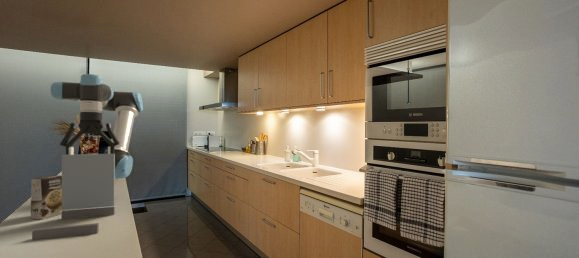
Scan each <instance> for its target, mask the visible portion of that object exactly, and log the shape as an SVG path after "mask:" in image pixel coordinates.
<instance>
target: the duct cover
mask: <svg viewBox="0 0 579 258" xmlns="http://www.w3.org/2000/svg"><path fill="white" fill-rule="evenodd" d="M61 176H62V210H65V211H66V210H78V209H91V208H104V207H115V205H116V204H115V203H116V201H115V200H116V197H115V196H116V195H115V194H116V192H115V191H116V190H115V189H116V188H115V187H116V182H115V181H116V179H115V154H104V153H97V154H95V153H88V154H87V153H84V154H83V153H82V154H74V155H66V154H61Z"/></svg>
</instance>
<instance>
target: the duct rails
mask: <svg viewBox="0 0 579 258" xmlns="http://www.w3.org/2000/svg"><path fill="white" fill-rule="evenodd" d="M115 213H116V207H115V206H109V207H96V208H83V209H70V210H65V211H62V214H61V220H70V219H80V218H82V219H83V218H90V217H100V216H101V217H103V216H104V217H105V216H114V215H115ZM99 225H100V223H99V222H96V223H85V224H83V223H82V224H76V225H66V226H65V225H63V226H54V227H43V228H34V229H32V230H31V240H32V241H34V240H35V241H36V240H43V239H44V240H45V239H52V238H54V239H55V238H63V237H64V238H65V237H73V236H74V237H75V236H82V235H92V234H98V233H99V231H100V229H99V227H100V226H99Z"/></svg>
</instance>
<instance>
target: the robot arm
mask: <svg viewBox="0 0 579 258" xmlns="http://www.w3.org/2000/svg"><path fill="white" fill-rule="evenodd" d="M50 95H51V97H53V99H56V100H62V101H63V100H68V101H74V102H78V103H80V104H79V107H80V108H79V110H80V111H81V112H80V113H79V123H75V122H71V123H70V125H69V129H68V130H67V132H66V134H65V135H64V137H63V139H62V140H61V141H60V143H59V145H60V146H62V147H65V155H75V154H74V153H75V147H74V144H75V143H76V142H77V141H78V140H79V139H81V137H82V136H83V135H85V134H86V135H97V134H98V136H100V138H102V139H103V140H104V141H105V143H107V145H109V146H107V150H105V151H104V153H103V154H115V180H119V179H125V178H126V179H127V177H129V176H130V174H131V172H132V171H133V166H134V165H133V164H134V158H133V156H132V155H131V154H130V152H129V147H130V143H131V137H132V133H133V127H134V122H135V118H136V117H138V116H139V113H142V112H143V111H144V104H143V98H142V95H141V93H140V92H135V91H114V90H113V89H112V87H111V86H109V85H107V84H104V81H103V77H102V76H101V75H99V74H98V75H97V74H90V73H85V74H81V75H80V81H79V82H69V81H68V82H67V81H55V82H53V83H51V85H50ZM103 111H107V112H115V114H116V119H115V123H114V127H113V129H112V124H111V123H107V122H106V123H103ZM78 128H79V129H80V130H79V131H78V132H77V133H76V134H75V135H74V136H73V134H74V132H75V131H76V129H78ZM103 128H104V129H105V130H107V133H108V134H109V136H110V138H111V139H110V138H109V137H108V136H107V135H106V134H105V133H104V131H102V129H103ZM72 136H73V137H72ZM71 137H72V138H71ZM94 154H98V153H94Z"/></svg>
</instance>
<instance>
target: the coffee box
mask: <svg viewBox="0 0 579 258" xmlns="http://www.w3.org/2000/svg"><path fill="white" fill-rule="evenodd" d="M30 184H31V186H30V190H31V191H30V219H33V220H45V219H48V218H52V217H55V216H59V215H62V211H66V210H62V175H48V176H42V177H35V178H31V183H30Z"/></svg>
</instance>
